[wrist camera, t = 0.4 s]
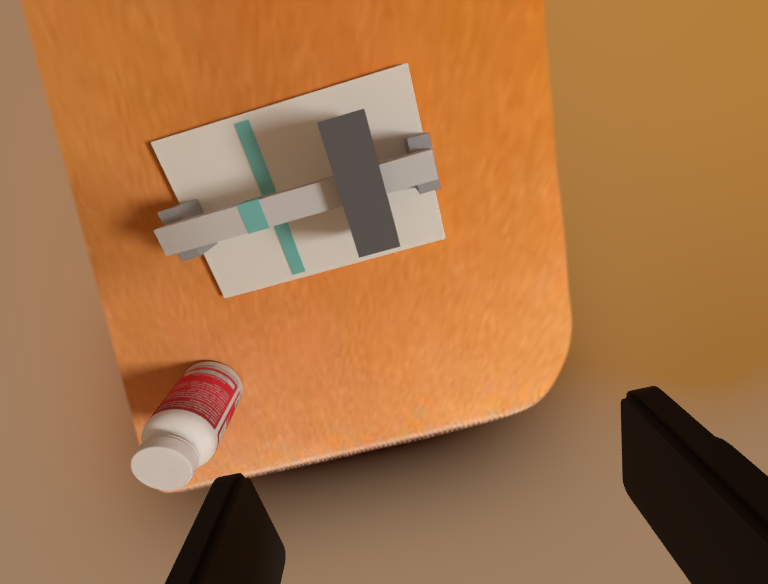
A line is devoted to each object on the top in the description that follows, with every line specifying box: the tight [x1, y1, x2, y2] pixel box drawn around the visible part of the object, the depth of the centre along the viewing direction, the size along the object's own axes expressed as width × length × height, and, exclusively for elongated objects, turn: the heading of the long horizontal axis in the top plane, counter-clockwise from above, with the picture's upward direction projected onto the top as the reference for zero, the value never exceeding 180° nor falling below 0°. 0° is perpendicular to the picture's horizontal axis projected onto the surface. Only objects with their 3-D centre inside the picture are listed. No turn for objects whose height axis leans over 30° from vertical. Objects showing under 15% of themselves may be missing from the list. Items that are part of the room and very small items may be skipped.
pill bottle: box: [131, 361, 243, 490], centre depth 35 cm, size 6×6×11 cm
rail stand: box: [150, 63, 446, 298], centre depth 30 cm, size 14×21×6 cm, turn 105°
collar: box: [317, 109, 400, 258], centre depth 27 cm, size 9×3×5 cm, turn 15°
